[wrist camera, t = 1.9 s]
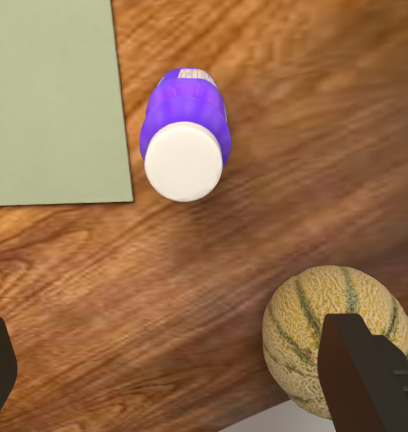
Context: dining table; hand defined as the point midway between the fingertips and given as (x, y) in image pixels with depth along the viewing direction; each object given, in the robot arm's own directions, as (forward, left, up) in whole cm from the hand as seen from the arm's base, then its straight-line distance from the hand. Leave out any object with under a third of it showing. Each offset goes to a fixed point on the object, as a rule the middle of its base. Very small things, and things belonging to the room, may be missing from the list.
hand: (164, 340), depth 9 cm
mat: (-13, +6, -29) cm, 32 cm away
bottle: (0, +1, -29) cm, 29 cm away
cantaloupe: (+14, -21, -29) cm, 38 cm away
